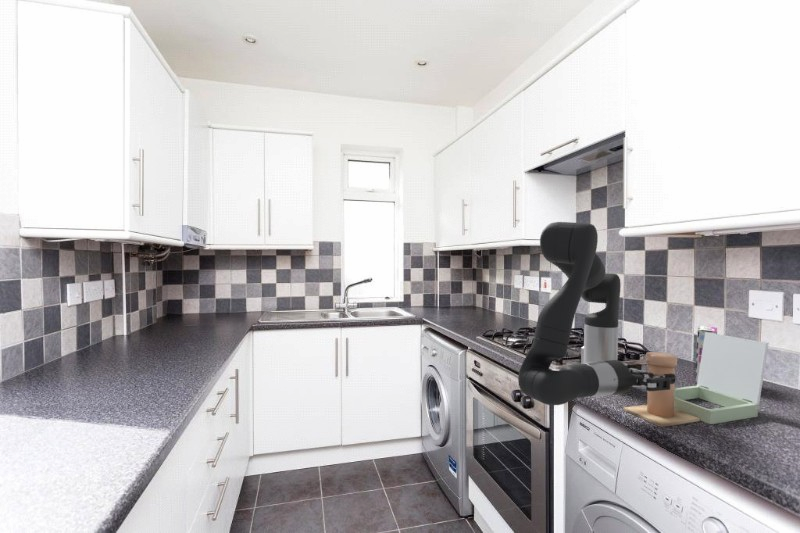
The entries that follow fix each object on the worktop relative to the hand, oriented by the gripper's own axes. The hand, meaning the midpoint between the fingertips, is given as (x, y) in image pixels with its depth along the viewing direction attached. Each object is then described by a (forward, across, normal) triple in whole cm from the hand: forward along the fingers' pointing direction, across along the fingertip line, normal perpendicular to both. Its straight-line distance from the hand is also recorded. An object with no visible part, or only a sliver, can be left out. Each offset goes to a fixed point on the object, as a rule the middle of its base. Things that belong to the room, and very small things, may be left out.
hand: (656, 372), depth 92 cm
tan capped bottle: (+2, 0, +10) cm, 10 cm away
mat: (+2, 0, +10) cm, 11 cm away
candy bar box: (+43, +17, +10) cm, 47 cm away
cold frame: (+16, 0, +10) cm, 20 cm away
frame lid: (+26, 0, +8) cm, 27 cm away
